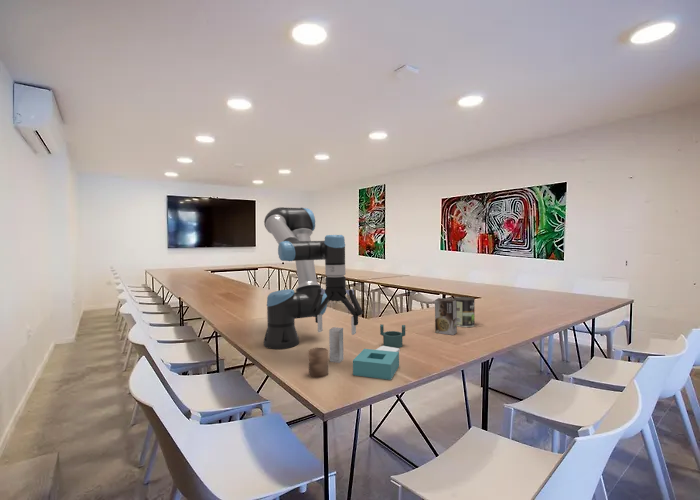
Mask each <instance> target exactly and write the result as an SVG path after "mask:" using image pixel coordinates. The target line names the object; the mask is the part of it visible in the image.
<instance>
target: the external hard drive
mask: <svg viewBox="0 0 700 500" xmlns="http://www.w3.org/2000/svg"><path fill="white" fill-rule="evenodd" d="M375 350H383V351H393V352H399V353H400V351H401V349H400V348H394V347H388V346H383V345H381V346H379V347H378V348H376V349H375Z"/></svg>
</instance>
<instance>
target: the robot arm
mask: <svg viewBox="0 0 700 500" xmlns="http://www.w3.org/2000/svg"><path fill="white" fill-rule="evenodd" d="M263 222H264V228H265V229H266V231H267V232H268V233H269V234H271V235H272V236H273V238H274V239H275V241H276V243H277V244H278V245H277V246H278V248H277V254H278V258H279V260H280V261H282V262H295V268H296V276H297V284H298V286H297V287H295V288H296V289H295V291H294V289H292V288H290V289H289V288H288V289H281V290H280V289H279V290H277V291H273V292H270V293H269V294H268V295H267V297H266V309H267V310H266V311H267V313H266V314H267V315H266V317H267V328H266V332H265V335H264V338H263V347H265V348H267V349H273V350H283V349H284V350H285V349H289V348H292V347H296V346H298V345H299V343H300V337H299V335H298V332H297V328H296V325H295V319H306V318H315V321H314V322H315V324H317V333H321V332H323V331H324V330H323V315H324V314H325V313H326V311H327V309H328V307H327V306H328V304H329V302H341V303H343V305H344V306H345V307H346V308H347V309H348V311H349V312H350V314H351V315H352V316H351V318H350V319H351V320H350V321H351V335H352V336H353V335H355V334H357V325H359V316H361V315H362V314H364V312H363V309H362V307H361V305H360V303H359V301H358V299H357V297H356V295H355V290H354V288H351V289H347V286H346V285H347V282H346V281H347V278H346V276H345V275H346V243H345V236H344V235H343V234H327V235H325V236H324V240H311V236H312V235H313V232H314V231H315V229H316V217H315V214H314V213H313V211H312V209H310V208H306V207H281V206H279V207H275V208H273V209H271V210H270V211H269V212H268V213H267V214H266V215H265V217H264V221H263ZM318 260H319V261H321V260H323V261H324V265H325V268H324V269H325V271H324V272H325V288H323V287H322V285H321V284H320V283H318V279H317V275H316V274H317V273H316V266H315V262H314V261H318ZM346 295H348V296H349V298H350V301H351V302H350V301H349V298H347V296H346Z"/></svg>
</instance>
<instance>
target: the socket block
mask: <svg viewBox="0 0 700 500" xmlns="http://www.w3.org/2000/svg"><path fill="white" fill-rule="evenodd" d="M399 367H400V351H399V352H393V351H383V350H376V349H373V348H371V349H369V348H363V349H362V351H360V352H359V353H358V354H357V356H355V357H354V359H352V375H353V376H356V377H357V376H359V377H365V378H374V379H380V380H389V381H392V379H393V377H394V376H395V373H396V372H397V371H398V369H399Z"/></svg>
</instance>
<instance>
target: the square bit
mask: <svg viewBox="0 0 700 500" xmlns="http://www.w3.org/2000/svg"><path fill="white" fill-rule="evenodd" d="M328 331H329V332H328V335H329V337H328V339H329V340H328V342H329V343H328V345H329V362H330V363H338V364H341V362H342V361H344V357H345V356H344V327H336V326H335V327H332V328H329V330H328Z"/></svg>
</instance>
